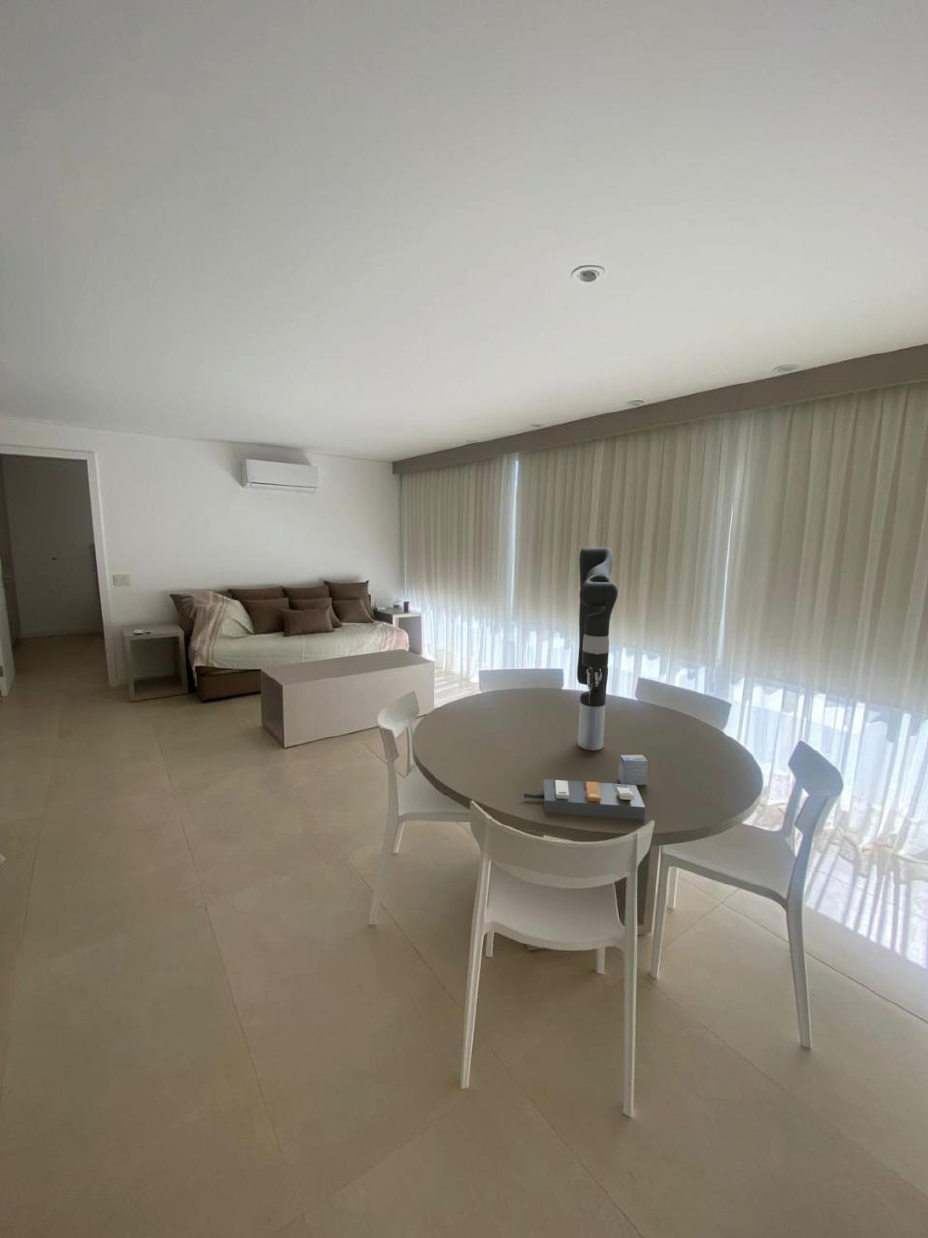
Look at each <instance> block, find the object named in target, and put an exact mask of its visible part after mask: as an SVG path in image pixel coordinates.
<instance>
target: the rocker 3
mask: <svg viewBox="0 0 928 1238" xmlns="http://www.w3.org/2000/svg"><path fill="white" fill-rule="evenodd" d="M616 792H617V794H618V796H619V797H620V799H627V800H634V795H633V793H632V792H631V790H630V789H629V788H619V787H617V791H616Z"/></svg>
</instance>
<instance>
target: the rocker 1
mask: <svg viewBox="0 0 928 1238" xmlns="http://www.w3.org/2000/svg"><path fill="white" fill-rule="evenodd" d="M554 780H555V789H556V798H562V799H569V790H568V781H569V780H564V781H563V780H562V779H554Z"/></svg>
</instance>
